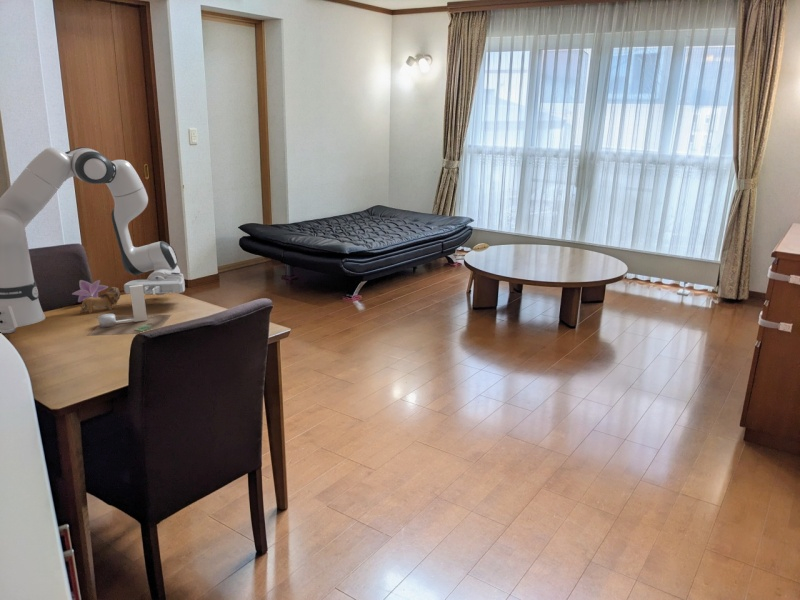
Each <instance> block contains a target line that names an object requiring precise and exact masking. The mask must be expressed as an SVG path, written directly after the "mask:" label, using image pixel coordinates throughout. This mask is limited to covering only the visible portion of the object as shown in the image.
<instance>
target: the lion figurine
mask: <svg viewBox="0 0 800 600" xmlns="http://www.w3.org/2000/svg"><path fill="white" fill-rule="evenodd" d="M120 299H121V292H120V289H119V287H117V286H116V287H115V286H111V287H110V288H108V290H107V292H106V291H105V293H104V294H102V295H101V296H98V297H97V298H93V297H88V298H86V299H84V300H83V301H81V306H80V307H81V308H80V314H83V313H85V312H86V311H88V314H92V313H93V307H96V308H104V307H105V308H106V310H109V311H113V306H114V305H117V303H118V301H119V300H120Z"/></svg>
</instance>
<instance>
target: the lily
mask: <svg viewBox="0 0 800 600" xmlns="http://www.w3.org/2000/svg"><path fill="white" fill-rule="evenodd" d="M78 281H79V282H78V283H79V285H78V286H79V288H80V289H79V290H78V289H77V291H74V292H72V293H71V295H74V296H78V298H77V302H78V303H82V302H83V301H84V299H86V298H89V297H93V298H97V297H99V293H100V292H102V291H104V290H107V289H109V286H108V285H105V284H104V285H103V284H100V283H101V279H98V280H95V281H94V282H93V283H90V282H89V281H86V280H83V279H80V280H78Z"/></svg>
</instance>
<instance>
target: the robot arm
mask: <svg viewBox="0 0 800 600" xmlns="http://www.w3.org/2000/svg"><path fill="white" fill-rule="evenodd" d="M73 177H76V178H77V179H79V180H81V181H83V182H84V183H86V184H91V185H99V184H105V185H106V186H107V188H108V189H109V192H110V194H111V197H112V199H113V201H114V208H113V209H112V210H111V214H110V215H111V216H110V217H111V223H112V225H113V231H114V233H115V237H116V241H117V245H118V248H119V252H120V257H121V263H122V265H123V268H124V270H125V272H127V273H129V274H130V275H133V276H139V275H142V274H144V273H147V272H150V271H151V273H150V274H149V275H148V277H147V278H146V279H135V280H134V279H133V280H130V281H128V282H126V283H124V284H123V290H124V293H125V295H131V294H130V287H129V286H135V285H143V291H144V296H147V295H149V296H151V295H152V296H153V295H157V296H162V295H166V294H180V293H184V292H185V290H186V286H185V285H186V283H185V276H184V274H183V273H181V269H180V267H179V266H178V257H177V254H176V251H175V249H174V247H172V246H171V245H170V244H169V243H167V242H165V241H164V240H161V241H157V242H156V241H155V242H152V243H149V244H146V245H142V246H139V247H138V246H137V247H136V246H134V244H133V241H132V238H131V235H130V230H129V223H130V222H131V221H133V220H134V219H136V218H137V217H138V216H139V215H141V214H142V213H143V212H144V211H145V209H146V208H147V206H148V204H149V196H148V193H147V190H146V187H145V186H144V184H143V182H142V180H141V178H140V176H139V174H138V172H137V171H136V169H135V168H134V167H133V165H132V163H130V162H129V161H128V160H125V159H114V160H110V159H108V158H107V157H106V155H103V154H102V153H101V152H100V151H98V150H97V149H96V150H95V149H93V148H89V147H81V146H80V147H78V148H74V149H71V150H68V151H65V152H64V151H63V150H61V149H59V148H55V147H47V148H45V149H44V150H42V151H41V152H40V153H38V154H37V155H36V156H35V157H34V158H33V159H32V160H31V161H30V162H29V163H28V165H26V167H25V168H24V169H23V171H22V172H21V173H20V174H19V175H18V177H17V178H16V179H14V181H13V183H11V185H10V186H9V187H8V188H7V190H5V192H4V193H3V194H2V195H1V196H0V332H1V333H0V334H13V333H15V331H16V329H17V328H19V327H21V328H22V327H25V326H29V325H33V324H36V323H39V322H42V321H44V320H45V319H46V315H45V314H44V311H43V308H42V306H41V303H40V300H39V291H38V285H37V282H36V280H35V278H34V272H33V268H32V267H33V266H32V261H31V255H30V251H29V250H30V249H29V243H28V239H27V233H26V227H27V226H28V225H29V224H30V223H31V222H32V220H34V218H35V217H36V216H37V215H38V214H39V213H40V212H41V211H42V210H43V209H44V208H45V206H46V205H47V204H48V203H49V202H50V201H51V200H52V198H53V197H54V195H55V194H56V193H57V192H58V191H59V189H60V188H61V186H62V185H63V184H64V183H65V182H66V181H67V180H68V179H70V178H73ZM152 271H153V272H152Z"/></svg>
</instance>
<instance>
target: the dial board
mask: <svg viewBox="0 0 800 600" xmlns="http://www.w3.org/2000/svg"><path fill="white" fill-rule="evenodd" d="M171 317H172V314H151V315H150V314H149V315H147V320H145V321H138V322H134V321H131V322H124V323H116V325H114V326H111V327H100V326H99V325H97V326H96V327H95V328H94V329H93V330H92V331H91V332H89V333H88V334H87V335H86V336H110V335H111V336H113V335H137V334H138V333H140V332H143V331H147V330H151V329H156V328H159V327H161V328H163V326H164V324H165V323H166V322H168V320H169V319H170V318H171ZM115 318H116V321H119V320H127V319H134V315H126V316H125V315H122V316H121V315H120V316H119V315H118V316H116V315H115Z"/></svg>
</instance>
